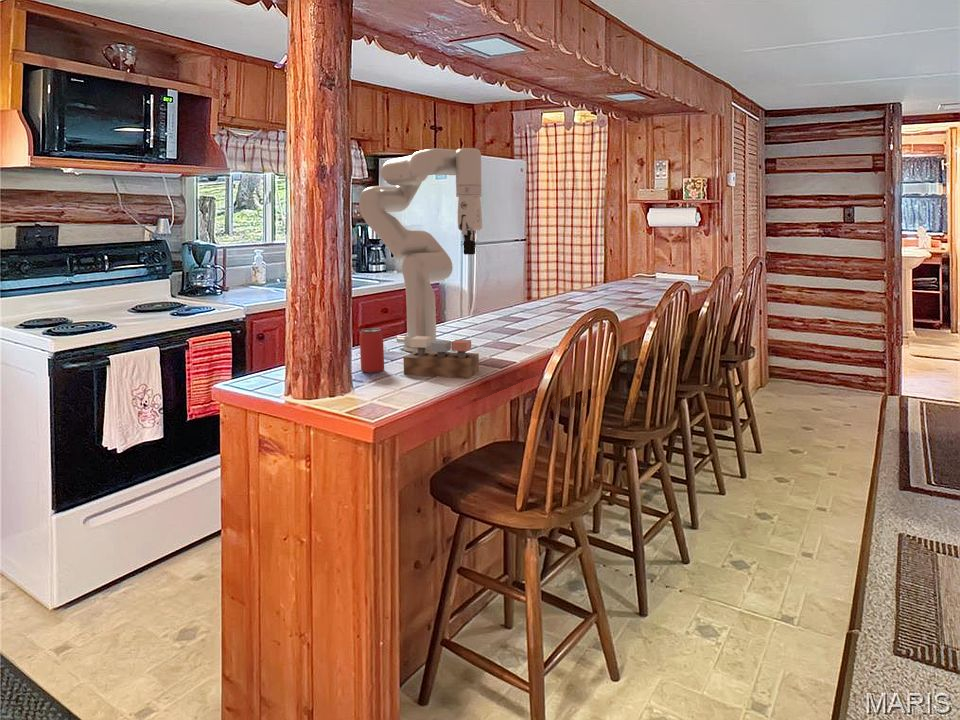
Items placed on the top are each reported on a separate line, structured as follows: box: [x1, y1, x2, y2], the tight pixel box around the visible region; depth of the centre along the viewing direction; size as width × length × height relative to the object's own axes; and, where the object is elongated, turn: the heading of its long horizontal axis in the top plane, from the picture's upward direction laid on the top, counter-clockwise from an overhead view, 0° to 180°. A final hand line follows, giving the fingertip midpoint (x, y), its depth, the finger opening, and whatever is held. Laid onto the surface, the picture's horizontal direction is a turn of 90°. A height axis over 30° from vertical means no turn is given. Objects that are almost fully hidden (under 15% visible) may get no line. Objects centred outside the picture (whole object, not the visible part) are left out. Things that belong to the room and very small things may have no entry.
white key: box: [411, 336, 431, 356], centre depth 204 cm, size 4×4×7 cm
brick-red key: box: [450, 339, 472, 358], centre depth 201 cm, size 4×4×7 cm
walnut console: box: [403, 350, 480, 379], centre depth 203 cm, size 19×10×5 cm, turn 73°
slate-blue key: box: [431, 339, 452, 357], centre depth 203 cm, size 4×4×7 cm
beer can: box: [359, 327, 385, 374], centre depth 205 cm, size 7×7×12 cm
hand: (469, 254), depth 216 cm, fingers closed
